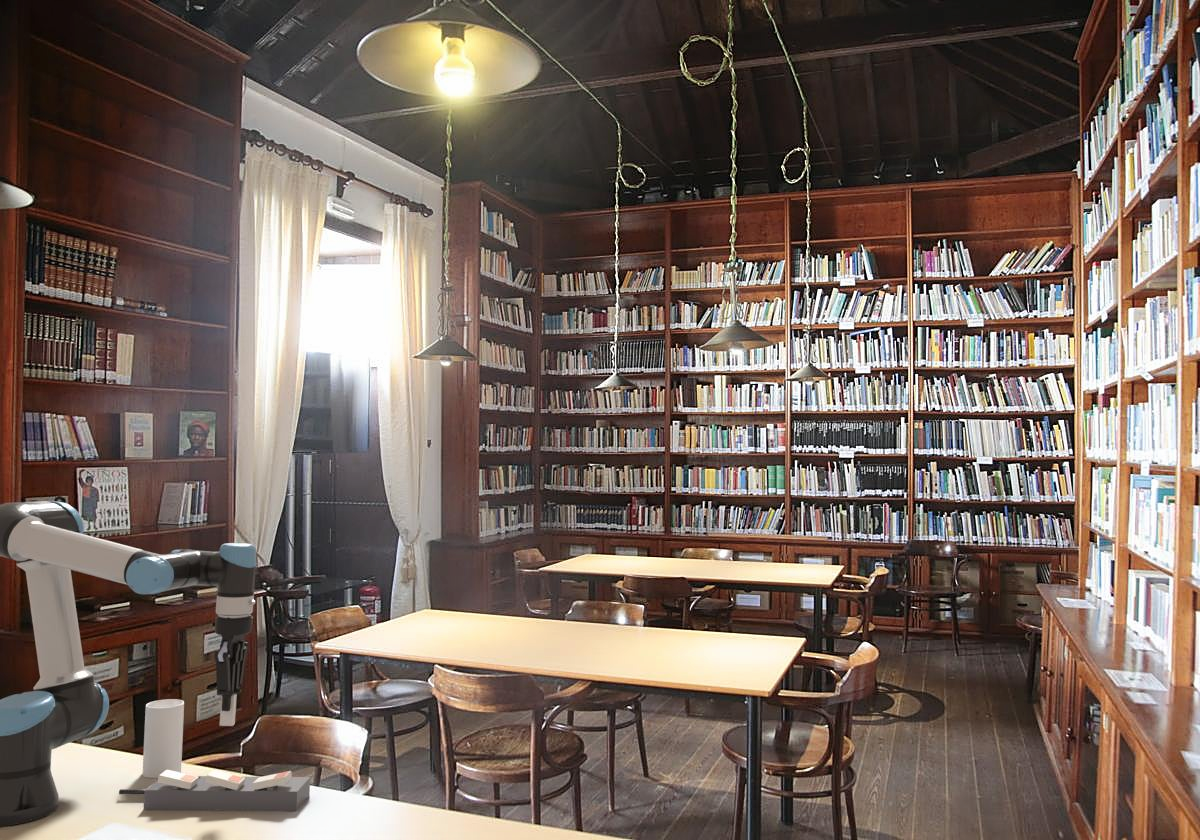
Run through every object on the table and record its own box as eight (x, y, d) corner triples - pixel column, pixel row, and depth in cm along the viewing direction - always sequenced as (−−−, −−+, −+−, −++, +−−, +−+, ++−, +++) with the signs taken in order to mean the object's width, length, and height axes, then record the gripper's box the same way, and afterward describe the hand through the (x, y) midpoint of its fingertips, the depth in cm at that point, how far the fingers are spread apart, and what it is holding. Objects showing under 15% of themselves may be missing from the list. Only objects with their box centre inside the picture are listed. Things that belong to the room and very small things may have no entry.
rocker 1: (157, 782, 189) (159, 774, 189) (165, 776, 193) (167, 769, 193) (189, 789, 189) (191, 782, 189) (197, 783, 193) (198, 776, 193)
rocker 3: (253, 790, 189) (252, 782, 189) (260, 784, 193) (258, 776, 193) (286, 783, 190) (285, 776, 190) (292, 777, 193) (290, 770, 193)
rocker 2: (205, 782, 189) (207, 774, 189) (212, 776, 193) (214, 769, 193) (237, 790, 189) (239, 783, 189) (243, 784, 193) (245, 777, 193)
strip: (104, 809, 188) (106, 787, 188) (126, 794, 197) (127, 773, 197) (296, 810, 189) (297, 789, 189) (309, 795, 198) (310, 774, 198)
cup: (188, 767, 215) (191, 699, 216) (168, 778, 207) (171, 708, 208) (155, 765, 216) (158, 698, 217) (134, 777, 208) (138, 707, 209)
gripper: (239, 620, 189) (232, 734, 187) (262, 610, 202) (255, 717, 200) (204, 619, 188) (196, 732, 187) (229, 609, 201) (222, 715, 200)
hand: (227, 724), depth 194 cm, fingers closed
